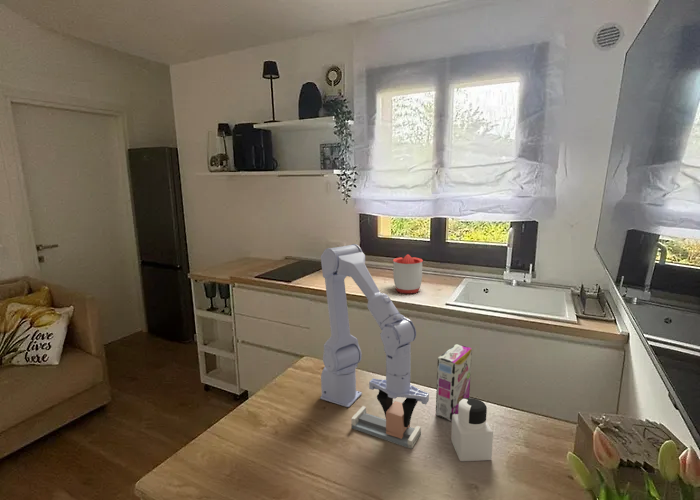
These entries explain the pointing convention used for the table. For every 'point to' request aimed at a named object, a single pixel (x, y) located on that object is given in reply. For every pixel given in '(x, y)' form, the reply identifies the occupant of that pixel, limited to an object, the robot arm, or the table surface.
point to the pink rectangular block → (395, 420)
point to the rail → (383, 428)
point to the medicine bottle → (472, 431)
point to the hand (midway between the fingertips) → (398, 422)
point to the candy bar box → (453, 380)
